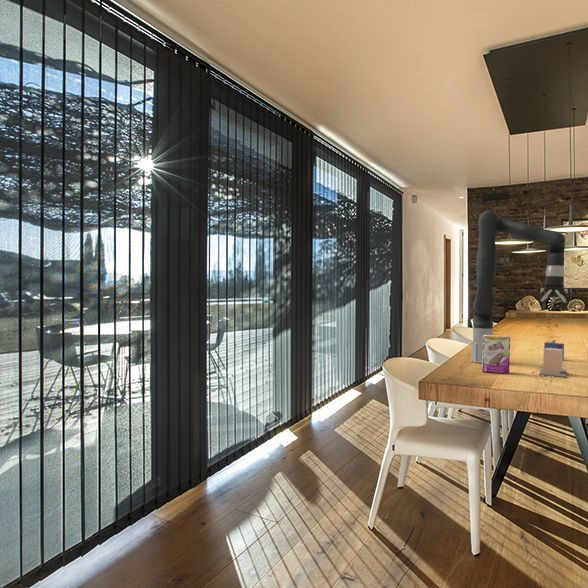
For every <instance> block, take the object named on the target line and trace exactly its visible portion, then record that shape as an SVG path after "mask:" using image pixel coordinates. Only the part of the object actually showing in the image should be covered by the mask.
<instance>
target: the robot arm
mask: <svg viewBox="0 0 588 588" xmlns="http://www.w3.org/2000/svg"><path fill="white" fill-rule="evenodd" d="M497 232H498V233H499V232H501V233H505V234H509V235H512V236H515V237H519V238H521V239H524V240H527V241H530V242H533V243H541V244H544V245H547V246H548V253H547V254H548V255H547V260H546V268H545V286H544V287H537V291H536V300H537V301H539V302H540V305H539V307H540V309H541V310H542V311H543V310H545V300H546V299H548V297H549V298H559V299H561V300H562V306H561V309H562V310H561V311H562V312H564V311H565V310H566V311H567V304H568V303H569V302H572V289H571V288H565V287H564V284H565V283H564V282H565V250H566V249H565V248H566V237H565V235H564V234H563V233H562V232H559V231H556V230H550V229H545V228H542V227H539V226H536V225H532V224H527V223H523V222H517V221H513V220H509V219H507V218H505V217H502V216H500V215H498V214H497V213H496V212H495V211H494V210H493V211H492V210H485V211H483V212H482V213H481V214H480V215H479V217H478V235H479V236H478V237H479V238H478V245H477V253H476V262H475V263H476V265H475V267H476V268H475V274H476V293H475V299H474V301H473V304H472V342H471V349H470V350H471V354H470V355H471V360H472V361H471V362H474V363H475V364H482V355H483V335H494V321H493V314H494V313H493V309H494V307H495V306H494V282H495V277H496V271H497V247H496V233H497ZM543 291H544V292H545V294H544V295H543V296H542V298H541V294H542V293H543ZM564 292H565V293H566V294H567V299H566V298H565V296H564V295H563V294H564Z"/></svg>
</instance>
